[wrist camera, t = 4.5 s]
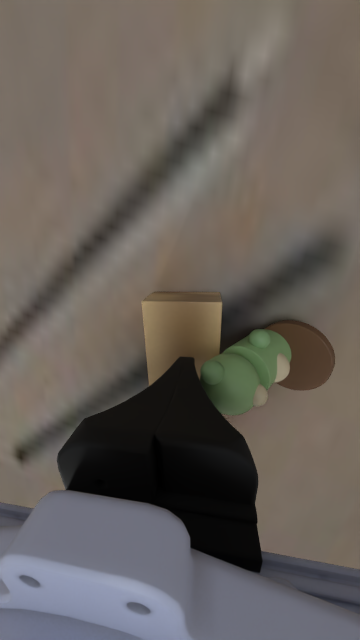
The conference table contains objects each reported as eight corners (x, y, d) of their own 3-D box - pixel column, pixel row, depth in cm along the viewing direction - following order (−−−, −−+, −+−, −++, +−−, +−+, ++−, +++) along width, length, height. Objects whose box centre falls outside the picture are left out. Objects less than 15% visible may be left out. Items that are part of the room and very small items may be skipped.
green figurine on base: (200, 366, 17) (197, 439, 10) (202, 311, 15) (200, 357, 9) (303, 372, 16) (371, 456, 9) (317, 314, 14) (411, 367, 8)
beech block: (159, 378, 18) (150, 402, 15) (154, 291, 15) (141, 301, 12) (215, 382, 17) (216, 408, 14) (219, 292, 14) (222, 302, 12)
